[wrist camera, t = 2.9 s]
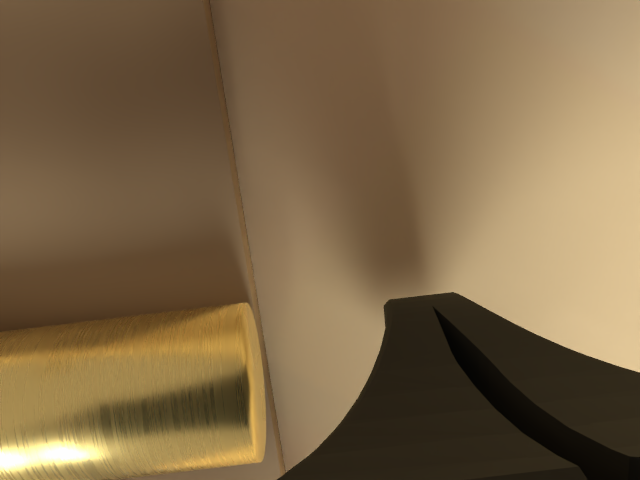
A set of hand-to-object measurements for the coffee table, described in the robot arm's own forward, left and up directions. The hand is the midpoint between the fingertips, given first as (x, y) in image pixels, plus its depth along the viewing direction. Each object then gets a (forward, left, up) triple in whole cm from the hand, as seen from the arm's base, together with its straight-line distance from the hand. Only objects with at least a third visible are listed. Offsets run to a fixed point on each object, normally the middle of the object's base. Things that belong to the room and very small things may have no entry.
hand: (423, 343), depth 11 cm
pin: (0, +8, -1) cm, 8 cm away
